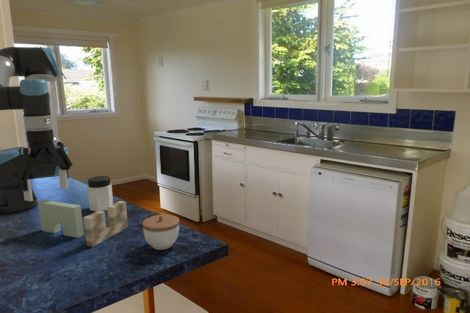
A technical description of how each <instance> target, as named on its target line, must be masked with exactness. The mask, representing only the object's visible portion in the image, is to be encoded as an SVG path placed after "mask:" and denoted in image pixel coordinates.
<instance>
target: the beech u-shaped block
mask: <svg viewBox="0 0 470 313" xmlns="http://www.w3.org/2000/svg"><path fill="white" fill-rule="evenodd" d="M107 209H108V210H107V216H108V218H107V219H108V220H107V221H108V224H107V223H106V222H107V221H106V214H105V213H106V212H105V211H97V212H96V211H93V213H91V214H88V215H86V216H84V217H83V227H84V235H85V243H86V246H88V247H92V248H94V247H95V246H97V245H98V244H100V243H102V242H104V241H106V240H108V239H109V238H111V237H113V236H114V235H115V236H116V234H118V233H120V232H121V231H123V230H125V229H127V228H128V227H129V225H128V210H127V202H126V201H125V200H124V201H123V200H118V201H116V202H113V204H112V205H110V206H108V207H107Z"/></svg>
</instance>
